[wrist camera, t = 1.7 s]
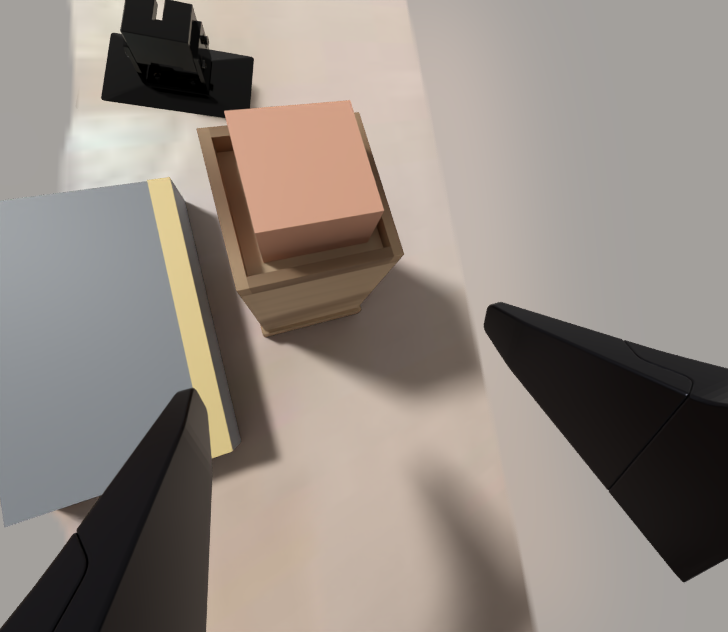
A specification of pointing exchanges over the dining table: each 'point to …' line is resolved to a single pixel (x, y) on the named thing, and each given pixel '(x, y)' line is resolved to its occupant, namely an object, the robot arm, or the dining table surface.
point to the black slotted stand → (173, 63)
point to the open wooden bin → (301, 273)
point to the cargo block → (305, 177)
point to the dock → (98, 338)
